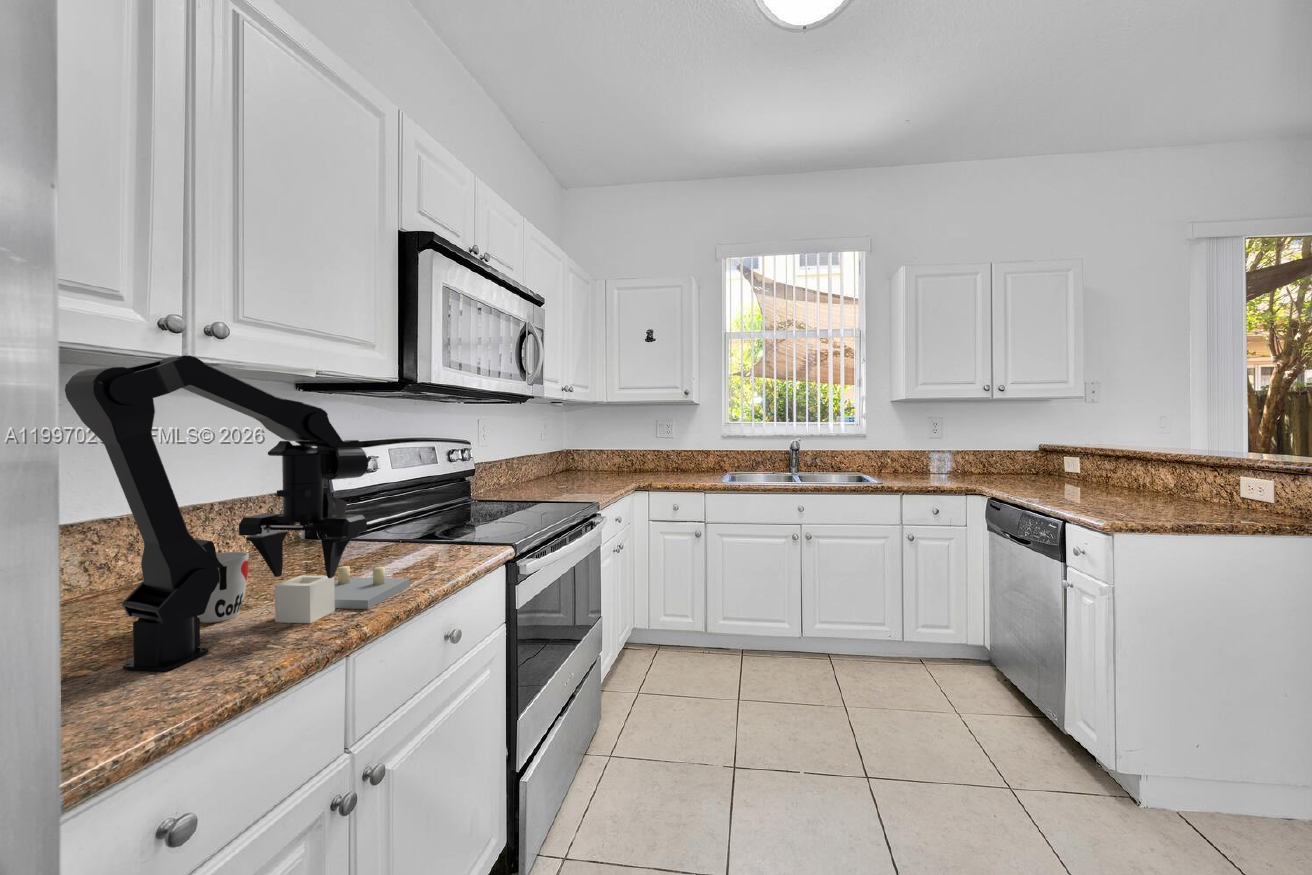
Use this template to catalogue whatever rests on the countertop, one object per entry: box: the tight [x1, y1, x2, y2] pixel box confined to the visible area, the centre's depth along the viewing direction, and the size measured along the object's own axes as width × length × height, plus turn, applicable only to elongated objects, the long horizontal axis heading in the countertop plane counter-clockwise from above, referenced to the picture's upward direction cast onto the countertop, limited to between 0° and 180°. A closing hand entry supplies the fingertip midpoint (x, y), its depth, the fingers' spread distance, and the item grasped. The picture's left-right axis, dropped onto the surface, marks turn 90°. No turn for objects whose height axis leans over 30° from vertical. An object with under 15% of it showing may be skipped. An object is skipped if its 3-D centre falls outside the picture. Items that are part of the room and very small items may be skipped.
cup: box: [198, 551, 250, 624], centre depth 94 cm, size 8×8×10 cm
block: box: [274, 574, 336, 624], centre depth 94 cm, size 6×6×6 cm
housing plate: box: [334, 565, 411, 610], centre depth 106 cm, size 14×14×4 cm
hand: (304, 577), depth 94 cm, fingers open, 9 cm apart
